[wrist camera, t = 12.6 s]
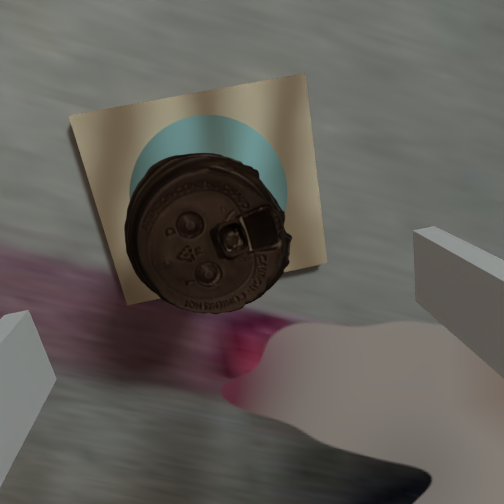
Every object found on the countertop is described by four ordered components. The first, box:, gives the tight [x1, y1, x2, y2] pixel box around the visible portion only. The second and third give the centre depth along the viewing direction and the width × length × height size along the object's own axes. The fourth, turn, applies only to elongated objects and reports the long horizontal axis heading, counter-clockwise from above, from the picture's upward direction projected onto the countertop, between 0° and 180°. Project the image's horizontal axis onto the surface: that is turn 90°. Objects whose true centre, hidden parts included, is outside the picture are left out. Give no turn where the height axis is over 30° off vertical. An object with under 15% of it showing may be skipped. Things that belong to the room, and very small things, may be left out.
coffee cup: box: [124, 153, 292, 314], centre depth 25 cm, size 9×8×13 cm
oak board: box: [69, 73, 327, 305], centre depth 32 cm, size 17×15×1 cm
